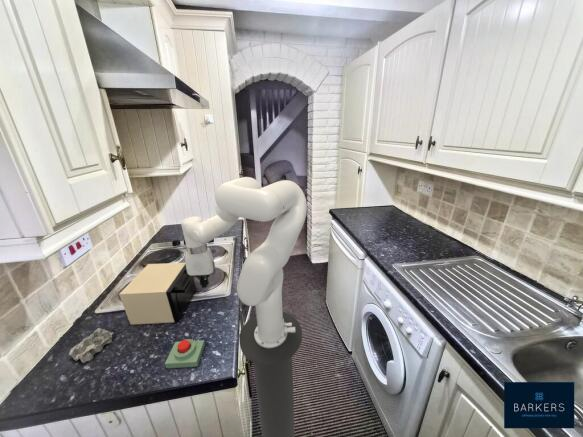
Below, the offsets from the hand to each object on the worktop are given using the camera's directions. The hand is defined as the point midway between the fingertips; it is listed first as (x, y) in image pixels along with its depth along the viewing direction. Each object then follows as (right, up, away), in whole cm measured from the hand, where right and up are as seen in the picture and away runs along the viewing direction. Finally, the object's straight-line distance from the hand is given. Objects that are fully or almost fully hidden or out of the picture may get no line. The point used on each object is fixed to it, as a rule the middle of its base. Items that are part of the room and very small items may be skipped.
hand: (205, 285), depth 97 cm
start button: (+1, -15, -21) cm, 26 cm away
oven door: (-7, -9, +3) cm, 12 cm away
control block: (+1, -18, -20) cm, 27 cm away
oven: (-19, -9, +3) cm, 21 cm away
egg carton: (-33, -18, -16) cm, 41 cm away
